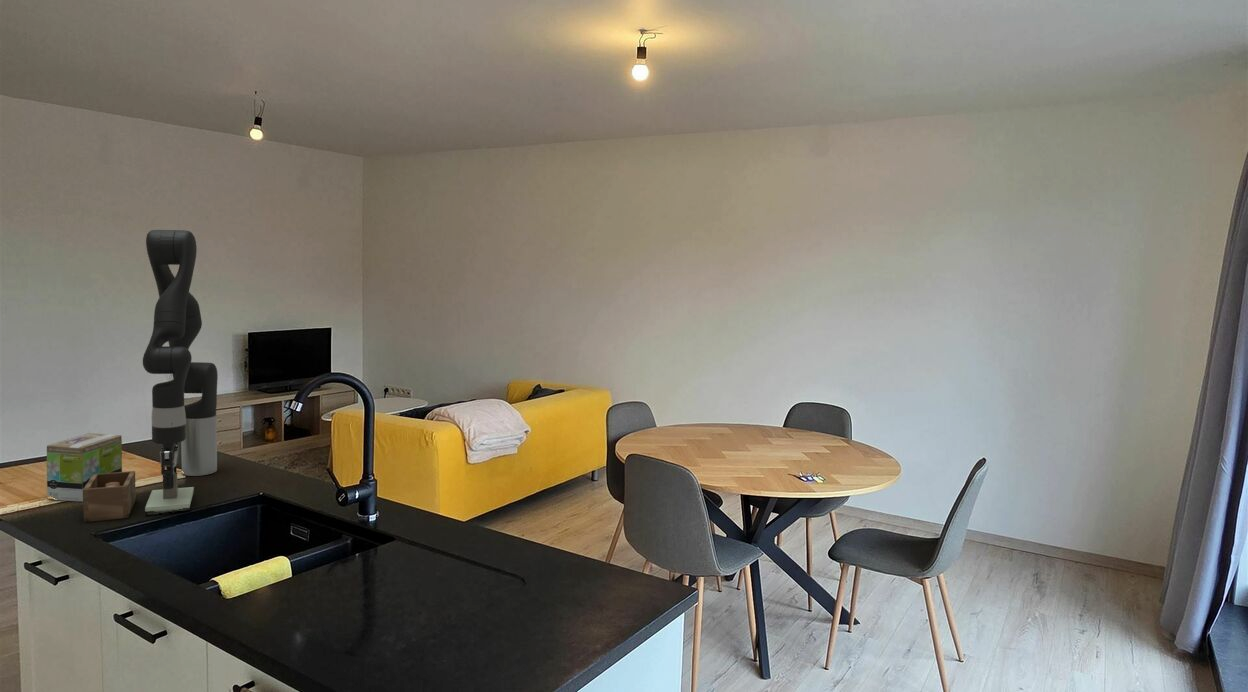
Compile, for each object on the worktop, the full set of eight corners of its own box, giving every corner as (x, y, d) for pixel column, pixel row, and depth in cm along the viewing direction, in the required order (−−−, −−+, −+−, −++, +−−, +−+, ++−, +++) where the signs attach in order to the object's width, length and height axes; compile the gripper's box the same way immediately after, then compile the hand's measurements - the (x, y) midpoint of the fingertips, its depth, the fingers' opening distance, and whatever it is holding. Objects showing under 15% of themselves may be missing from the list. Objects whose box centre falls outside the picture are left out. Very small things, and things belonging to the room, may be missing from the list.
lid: (152, 497, 199) (151, 468, 198) (193, 494, 204) (193, 465, 203) (145, 515, 186) (144, 484, 185) (189, 511, 191) (189, 481, 190)
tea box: (84, 502, 194) (82, 447, 192) (46, 500, 194) (43, 445, 192) (124, 485, 209) (122, 433, 207) (88, 483, 209) (86, 431, 207)
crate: (94, 503, 193) (93, 473, 192) (135, 500, 197) (134, 470, 196) (83, 521, 181) (82, 490, 180) (128, 517, 185) (127, 486, 184)
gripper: (183, 428, 188) (184, 490, 190) (187, 416, 200) (188, 475, 202) (148, 430, 184) (149, 493, 186) (154, 417, 197) (156, 477, 199)
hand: (170, 483), depth 194 cm, fingers open, 8 cm apart
